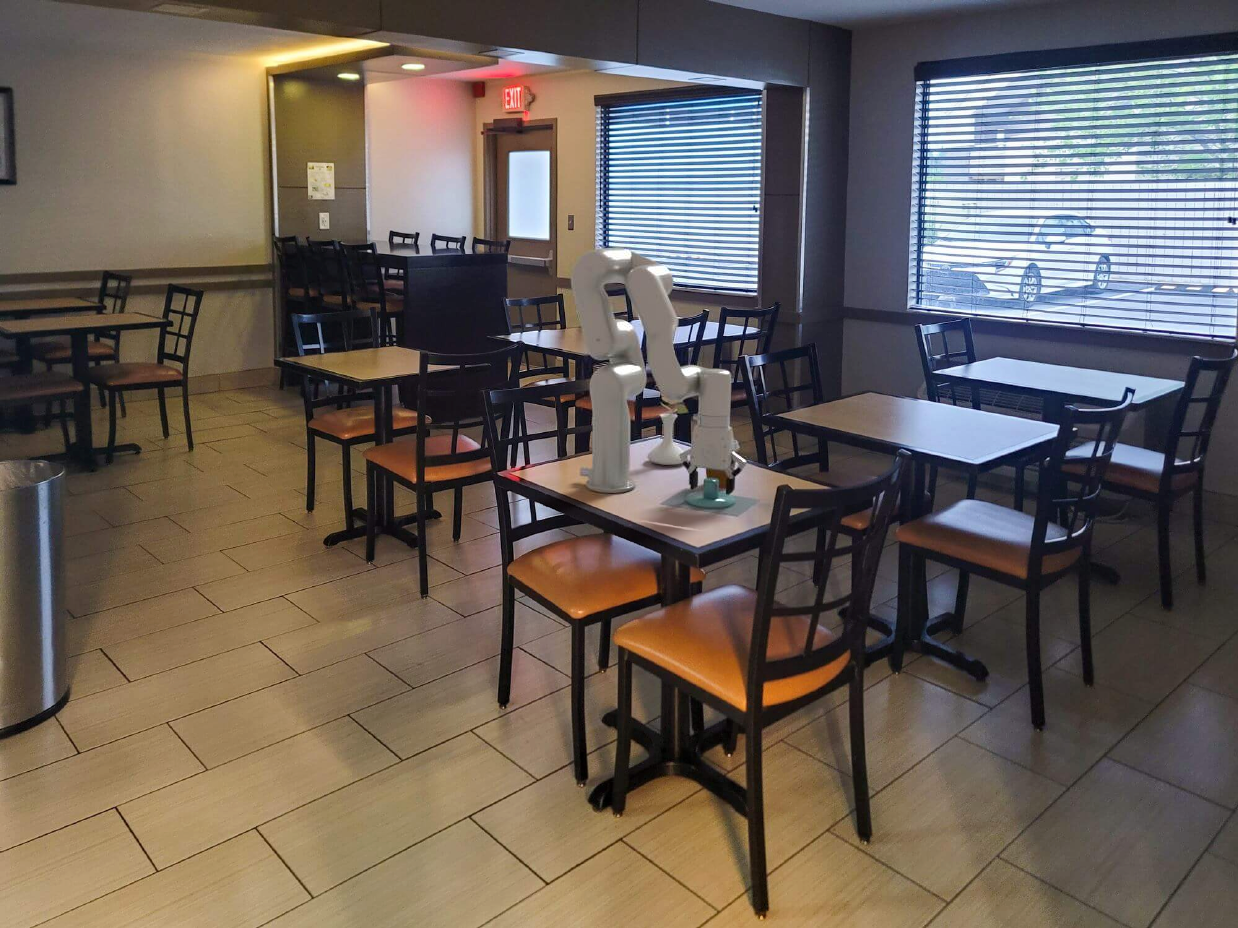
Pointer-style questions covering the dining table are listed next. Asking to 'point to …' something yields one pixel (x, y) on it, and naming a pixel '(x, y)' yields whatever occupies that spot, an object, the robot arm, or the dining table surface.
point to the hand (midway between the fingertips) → (711, 490)
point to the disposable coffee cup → (721, 474)
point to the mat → (734, 510)
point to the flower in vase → (668, 438)
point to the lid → (710, 496)
